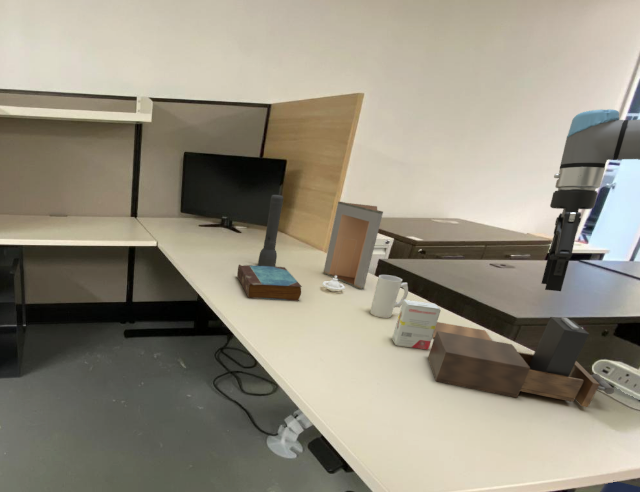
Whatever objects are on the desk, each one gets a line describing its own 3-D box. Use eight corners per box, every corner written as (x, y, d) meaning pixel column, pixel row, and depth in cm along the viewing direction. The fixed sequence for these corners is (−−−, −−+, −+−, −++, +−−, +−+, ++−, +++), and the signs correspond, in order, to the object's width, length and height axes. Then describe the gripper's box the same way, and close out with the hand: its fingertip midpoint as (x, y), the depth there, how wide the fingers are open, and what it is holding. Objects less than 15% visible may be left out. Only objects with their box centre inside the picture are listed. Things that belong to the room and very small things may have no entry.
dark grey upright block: (547, 376, 110) (575, 317, 104) (562, 394, 102) (593, 331, 96) (523, 372, 112) (549, 313, 105) (536, 389, 104) (564, 327, 97)
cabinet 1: (323, 273, 188) (338, 201, 176) (341, 272, 192) (357, 201, 180) (360, 289, 171) (379, 211, 159) (380, 288, 174) (400, 211, 163)
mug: (373, 317, 145) (383, 280, 139) (365, 309, 151) (375, 274, 146) (405, 319, 145) (416, 282, 140) (396, 312, 151) (407, 276, 146)
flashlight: (254, 264, 192) (265, 269, 186) (264, 194, 180) (276, 197, 175) (267, 263, 195) (278, 268, 190) (278, 194, 183) (290, 197, 178)
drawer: (587, 385, 110) (598, 364, 107) (612, 412, 99) (625, 389, 97) (492, 367, 115) (500, 346, 113) (506, 390, 104) (515, 368, 102)
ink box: (423, 343, 129) (436, 302, 124) (428, 350, 124) (442, 309, 119) (391, 338, 130) (402, 298, 125) (394, 345, 126) (407, 304, 121)
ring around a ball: (329, 285, 172) (316, 288, 168) (333, 270, 170) (319, 273, 165) (348, 292, 167) (334, 295, 162) (352, 277, 164) (338, 280, 159)
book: (236, 277, 173) (238, 264, 171) (283, 280, 174) (285, 267, 172) (247, 298, 153) (249, 283, 151) (300, 301, 154) (302, 286, 152)
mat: (484, 332, 140) (485, 330, 140) (496, 350, 128) (497, 348, 128) (426, 321, 144) (427, 320, 144) (433, 338, 132) (433, 336, 132)
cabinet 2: (500, 371, 115) (512, 344, 112) (517, 398, 104) (530, 368, 100) (427, 357, 120) (436, 330, 117) (435, 381, 108) (446, 352, 105)
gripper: (549, 193, 113) (528, 280, 119) (559, 185, 93) (532, 291, 99) (590, 193, 109) (565, 283, 114) (608, 185, 89) (578, 295, 95)
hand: (550, 287), depth 107 cm, fingers open, 13 cm apart
